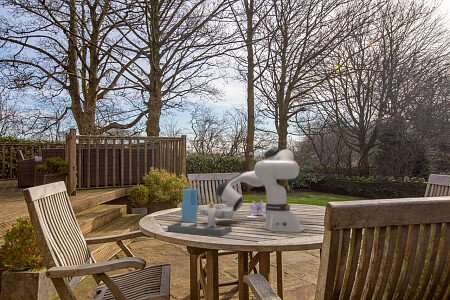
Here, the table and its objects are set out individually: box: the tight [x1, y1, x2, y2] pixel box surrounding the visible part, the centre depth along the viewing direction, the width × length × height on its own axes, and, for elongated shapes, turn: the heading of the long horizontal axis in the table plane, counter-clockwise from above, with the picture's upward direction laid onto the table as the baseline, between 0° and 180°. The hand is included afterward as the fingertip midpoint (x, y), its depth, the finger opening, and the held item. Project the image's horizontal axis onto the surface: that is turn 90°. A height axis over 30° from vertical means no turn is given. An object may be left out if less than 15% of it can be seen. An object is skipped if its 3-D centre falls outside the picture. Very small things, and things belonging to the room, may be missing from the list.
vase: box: [180, 188, 199, 223], centre depth 229 cm, size 8×8×20 cm
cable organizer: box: [167, 221, 233, 237], centre depth 193 cm, size 32×14×3 cm, turn 67°
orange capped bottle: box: [206, 201, 217, 228], centre depth 208 cm, size 5×5×14 cm
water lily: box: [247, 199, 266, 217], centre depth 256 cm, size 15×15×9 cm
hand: (210, 214), depth 207 cm, fingers open, 5 cm apart
